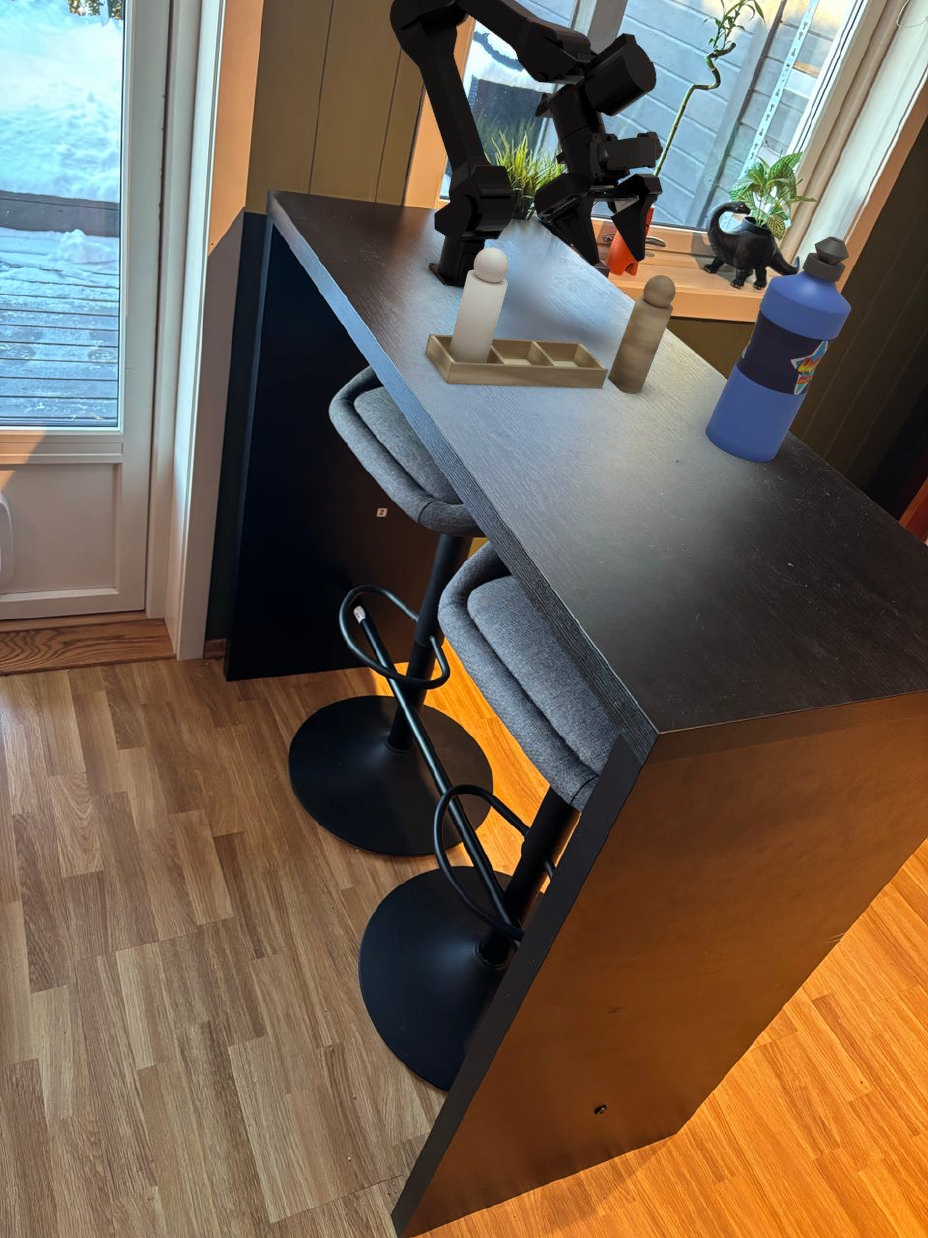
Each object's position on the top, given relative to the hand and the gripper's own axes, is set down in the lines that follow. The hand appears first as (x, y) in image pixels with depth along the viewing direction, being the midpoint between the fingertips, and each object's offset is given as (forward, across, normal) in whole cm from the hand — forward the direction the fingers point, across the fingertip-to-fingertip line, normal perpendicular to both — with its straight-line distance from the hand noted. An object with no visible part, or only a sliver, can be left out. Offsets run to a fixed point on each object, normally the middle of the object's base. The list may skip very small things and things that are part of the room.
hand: (619, 262), depth 118 cm
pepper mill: (+14, 0, +4) cm, 15 cm away
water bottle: (+26, +4, -7) cm, 27 cm away
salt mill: (+8, -21, +10) cm, 25 cm away
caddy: (+10, -15, +9) cm, 20 cm away
